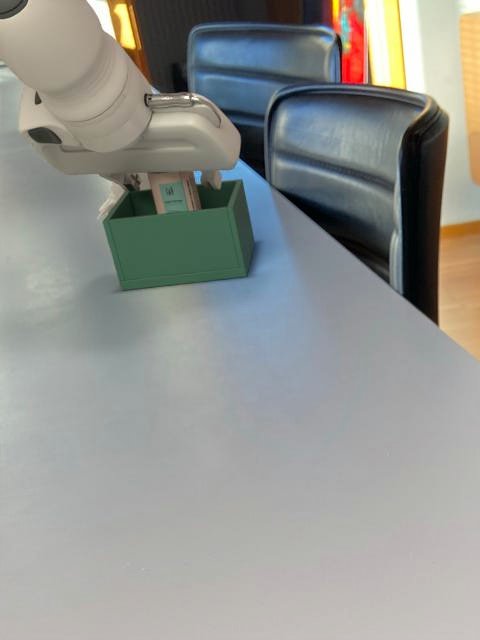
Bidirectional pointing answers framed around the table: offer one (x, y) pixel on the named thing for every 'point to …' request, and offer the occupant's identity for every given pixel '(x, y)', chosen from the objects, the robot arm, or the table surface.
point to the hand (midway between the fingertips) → (174, 184)
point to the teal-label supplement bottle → (174, 191)
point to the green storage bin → (180, 238)
